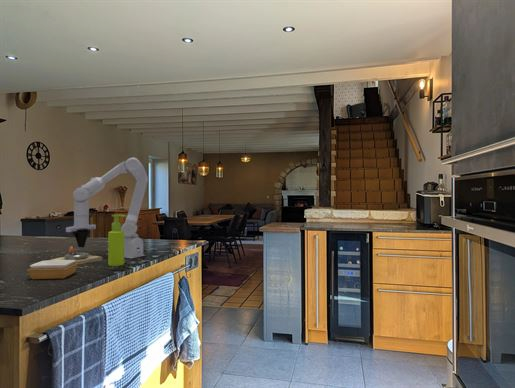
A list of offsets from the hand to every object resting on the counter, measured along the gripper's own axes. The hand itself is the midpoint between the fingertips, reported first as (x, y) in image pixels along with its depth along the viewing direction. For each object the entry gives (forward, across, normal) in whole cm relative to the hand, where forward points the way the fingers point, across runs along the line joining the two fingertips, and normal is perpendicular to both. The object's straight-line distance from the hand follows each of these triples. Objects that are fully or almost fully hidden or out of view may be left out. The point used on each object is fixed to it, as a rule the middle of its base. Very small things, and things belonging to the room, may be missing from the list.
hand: (81, 247), depth 151 cm
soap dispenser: (+5, +6, +24) cm, 25 cm away
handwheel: (+3, +5, +2) cm, 7 cm away
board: (+5, +5, +2) cm, 8 cm away
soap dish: (+5, +28, +16) cm, 33 cm away
